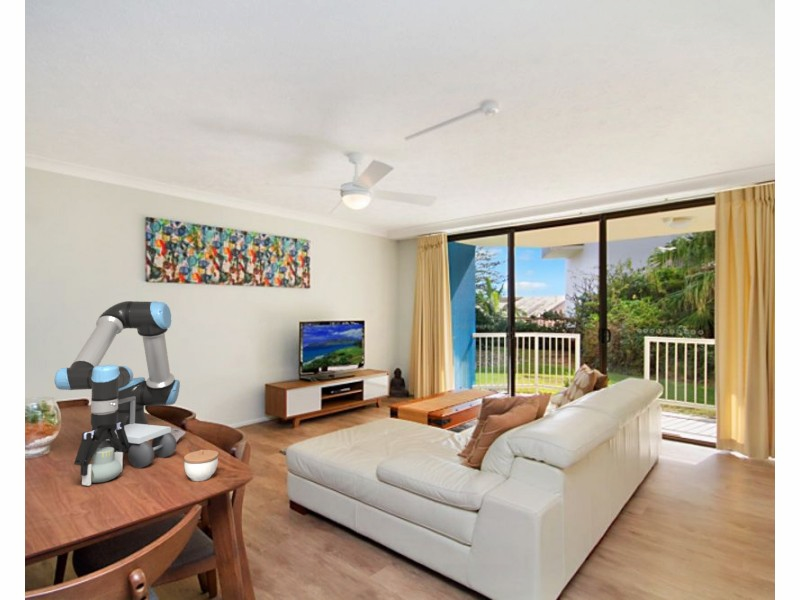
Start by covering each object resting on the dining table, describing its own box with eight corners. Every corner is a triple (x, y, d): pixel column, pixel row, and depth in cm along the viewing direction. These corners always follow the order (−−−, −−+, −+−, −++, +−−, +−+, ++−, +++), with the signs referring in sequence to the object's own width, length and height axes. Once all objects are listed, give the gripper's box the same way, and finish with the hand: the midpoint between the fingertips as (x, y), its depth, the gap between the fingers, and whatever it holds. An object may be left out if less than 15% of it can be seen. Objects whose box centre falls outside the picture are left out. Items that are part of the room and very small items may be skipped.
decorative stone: (187, 439, 188) (188, 426, 188) (173, 446, 178) (174, 432, 179) (159, 438, 190) (160, 424, 190) (144, 444, 180) (144, 430, 180)
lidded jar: (182, 486, 140) (183, 457, 140) (184, 474, 150) (185, 447, 150) (218, 481, 144) (218, 453, 144) (217, 470, 154) (218, 443, 154)
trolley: (124, 450, 173) (125, 395, 173) (177, 456, 167) (179, 399, 167) (89, 463, 158) (91, 403, 159) (146, 470, 153) (148, 408, 153)
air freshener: (124, 479, 145) (125, 449, 145) (97, 487, 138) (97, 456, 138) (108, 472, 150) (108, 443, 151) (80, 480, 143) (81, 449, 143)
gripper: (80, 421, 132) (78, 493, 132) (142, 405, 155) (140, 466, 155) (60, 419, 134) (58, 490, 133) (125, 403, 157) (123, 464, 156)
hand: (102, 477), depth 144 cm, fingers open, 11 cm apart
